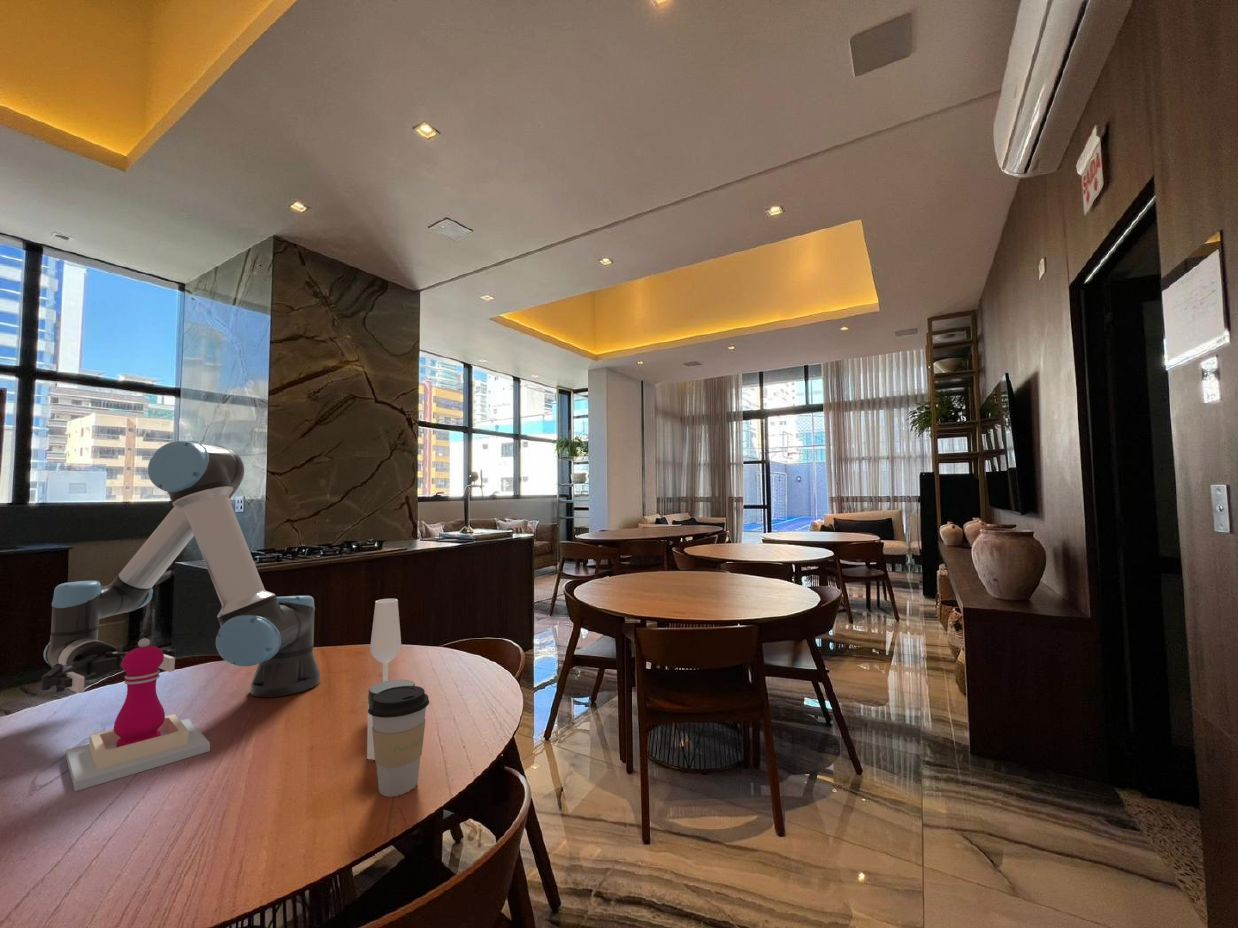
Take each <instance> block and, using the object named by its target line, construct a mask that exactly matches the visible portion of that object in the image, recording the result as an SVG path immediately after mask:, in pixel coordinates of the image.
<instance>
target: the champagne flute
mask: <svg viewBox="0 0 1238 928" xmlns="http://www.w3.org/2000/svg"><path fill="white" fill-rule="evenodd" d="M373 613H374V614H373V620H372V621H373V622H372V630H371V638H370V646H369V651H370V654H371V656H373V658H374V659H375V660H377V661H378V662H379V663H381V664H382V682H385V681H389V663H390V662H391V661H393V660H394V659H395V657H397V655H398V654H399V653H400V651H401V649H402V641H401V640H402V637H401V626H400V624H401V623H400V616H399V615H400V613H399V600H398V599H397V598H383V599H378V600H375V604H374V612H373Z"/></svg>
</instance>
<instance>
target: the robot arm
mask: <svg viewBox="0 0 1238 928" xmlns="http://www.w3.org/2000/svg"><path fill="white" fill-rule="evenodd" d="M147 473H148V478H149V480H150V482H151V483H152V485H154V486H155V487H156V488H158V489H160V490H162V491H163V492H167V494H168V496H169V499H170V501H171V504H172V506H173V508H172V509H171V510H170V511H169V512H168V514H166V516H165V517H164V519H163V520H162V521H161V522H160V523H159V525H158V526H157V527H156V528H155V530H154V531H153V532H152V533H151V534H150V536H149V537H148V538H147V539H146V541H144V543H143V544H142V545H141V546H140V548H139V549H138V551H137V552H136V553H135V554H134V555H133V557H131V559H130V560H129V561H128V562H127V564H126V565H125V566H124V567H123V568H122V570H121V571H120V572H119V573H118V575H117V576H116V577H115V578H114V579H113V581H111V582H110V583H109V584H107V585H106V584H105V585H101V582H100V581H99V580H79V581H70V582H69V581H68V582H64V583H63V582H62V583H61V584H58V585H56V586H55V588H54V591H53V597H52V602H51V622H50V623H51V627H50V628H51V629H50V636H49V637H50V639H49V642H48V643H47V644H46V646H45V647H44V650H43V659H44V661H45V662H46V664H48V665H49V666H50V668H52V669H50V670H49V671H48V672H46V673H45V674H44V675H42V677H41V689H40V690H41V691H48V690H50V689H52V688H54V687H55V692H56V693H60V692H65V689H68V690H71V691H72V692H75V693H77V694H80V693H84V692H85V681H94V680H98V679H100V678H102V677H104V676H106V675H108V674H109V673H111V672H114V671H124V670H123V669H122V660H123V658H124V656H125V655H126V654H127V653H128V652H129V651H123V652H122V651H119V650H118V649H117V647H115V646H114V645H112V644H110V643H107V642H105V641H101V640H99V639H98V637H99V629H100V628H99V627H100V625H99V624H100V620H101V619H104V618H105V619H106V618H108V617H112V616H116V615H120V614H121V615H122V614H124V613H125V614H126V613H130V612H134V611H136V610H137V609H140V608H143V607H145V606H147V605H148V604H149V603H150V602H151V600H152V599H153V594H154V589H153V587H154V585H155V584H156V583H157V582H158V581H159V579H160V578H161V577H162V576H163V575H164V573H165V572H166V571H167V570H168V568H169V567H170V566H171V564H172V563H173V562H174V561H175V559H177V557H178V556H179V555H180V554H181V552H183V550H184V549H185V547H186V546H187V545H188V544H189V543H190V541H191V540H192V539H193V538H195V539H194V540H195V541H196V543H197V546H198V549H199V551H200V554H201V556H202V558H203V561H204V564H205V566H206V569H207V572H208V574H209V576H210V579H211V581H212V584H213V587H214V589H215V591H216V595H217V597H218V599H219V602H220V604H221V608H220V611H219V612H218V613H217V616H216V618H217V620H218V622H219V625H220V628H219V629H218V631H217V632H218V633H217V635H216V636H215V647H216V650H217V653H218V654H219V656H220V657H221V659H223V660H224V661H226V662H227V663H229V664H232V665H234V666H238V667H251V666H252V667H253V666H255V665H257V667H256V670H255V672H254V675H253V678H252V679H251V683H250V695H251V696H254V697H257V698H275V697H277V698H278V697H283V696H290V695H294V694H298V693H301V692H305V691H307V689H308V690H310V689H309V688H311V689H312V688H314V686H315V687H316V686H318V685H319V684H320V683H321V672H320V671H321V670H320V668H319V665H318V663H317V660H316V658H315V657H316V656H315V655H314V640H315V639H314V638H315V637H314V636H315V635H314V634H315V633H314V632H315V611H316V607H315V599H314V597H313V596H311V595H287V596H276V594H275V593H273V592H270V591H267V590H266V589H265V587H264V583H263V582H262V579H261V577H260V574H259V571H258V569H257V566H256V563H255V562H254V558H253V556H252V553H251V552H250V549H249V546H248V544H247V541H246V538H245V537H244V536H245V535H244V533H243V531H242V529H241V525H240V524H239V521H238V518H237V516H236V513H235V511H234V508H233V506H232V502H231V499H232V497H233V495H234V494H235V493H236V492H237V490H238V489H239V487H240V485H241V483H242V482H243V479H244V475H245V466H244V462H243V460H242V458H241V456H240V455H239V454H238V453H236V452H235V451H234V450H233V449H230V448H228V447H225V446H221V445H217V444H216V445H214V444H208V443H201V442H198V441H195V440H175V441H171V442H168V443H166V444H162V445H161V446H160V447H159V448H158V449H157V450H156V451H155V452H154V454H153V455H152V457H151V458H150V459H149V462H148V466H147ZM161 650H162V652H163V654H164V660H163V663H162V664H161V665H160V666H159V667H158V669H159V670H163V671H166V672H170V673H171V672H175V666H176V665H175V663H176V653H177V652H176V650H177V649H167V648H163V649H161ZM319 682H320V683H319ZM318 683H319V684H318ZM317 684H318V685H317Z"/></svg>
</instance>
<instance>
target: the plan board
mask: <svg viewBox="0 0 1238 928" xmlns="http://www.w3.org/2000/svg"><path fill="white" fill-rule="evenodd" d="M158 730H159V731H160V732H161V736H158V737H155V738H151V739H147V740H143V741H140V742H136V743H132V744H128V745H125V746H121V747H117V748H116V743H117V741H118V740H119V739H120V737H119V736H118V735H116V734H115V732H114V728H113V729H109V730H105V731H100V732H96V733H92V734H90V735H89V743H88V744H82V745H80V746H77V747H72V748H68V749H66V753H65V759H66V763H67V766H68V771H69V775H70V778H71V782H72V785H73V790H74V792H78V791H80V790H84V789H88V788H91V787H94V786H98V785H102V784H104V783H108V782H111V781H114V780H118V779H122V778H124V777H128V776H131V775H135V774H137V773H141V772H145V771H148V770H152V769H155V768H158V767H162V766H164V765H168V764H171V763H175V762H178V761H181V760H185V759H189V758H192V757H195V756H198V755H201V754H205V753H207V752H208V753H209V752H210V751H211V742H210V741H209V740H208V739H207V737H205V735H204V734H203V733H202V732H201V731H200V730H199V729H198V728H197V726H196V725H195V724H194V723H193V722H192V721H191V720H190V719H189V718H186V719H182V720H181V719H180V718H179V717H177V715H176V714H170V715H165V721H164V723H163V724H162V725H161V726H160V727H159V728H158Z"/></svg>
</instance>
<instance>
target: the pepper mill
mask: <svg viewBox="0 0 1238 928" xmlns="http://www.w3.org/2000/svg"><path fill="white" fill-rule="evenodd" d="M162 650H163V649H161V648H160V647H158V646H154V645H151V639H149V638H148V637H147V638H146V637H143V638H141V639H139V641H137V647H135V648H133V649H131V650H129V651H127V652H128V653H127V654H126V655H125V656H124V658H123V660H122V665H121V666H122V669H123V670H122V671H124V672H125V673H126V675H124V679H125V680H124V681H123V682H124V684H125V685H126V687H127V690H126V697H125V700H124V702H123V705H122V707H121V708H120V710H119V711H118V713H117V716H116V718H115V721H114V724H113V729H114V732H115V734H116V735H118V736H119V737H120V739H119V740H118V741H117V743H116V748H117V747H121V746H125V745H128V744H132V743H136V742H140V741H143V740H147V739H151V738H155V737H158V736H161V732H160V731H159V730H158V728H159V727H160V726H161V725H162V724H163V723H164V721H165V716H166V715H165V713H166V711H165V709H164V706H163V705H162V703H161V701H160V700H159V697H158V694H157V680H158V679H159V678H160V676H161V675H160V672H161V671H160V670H161V669H159V668H158V667H159V666H160V665H161V664H162V663H163V660H164V654H163V652H162Z"/></svg>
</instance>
